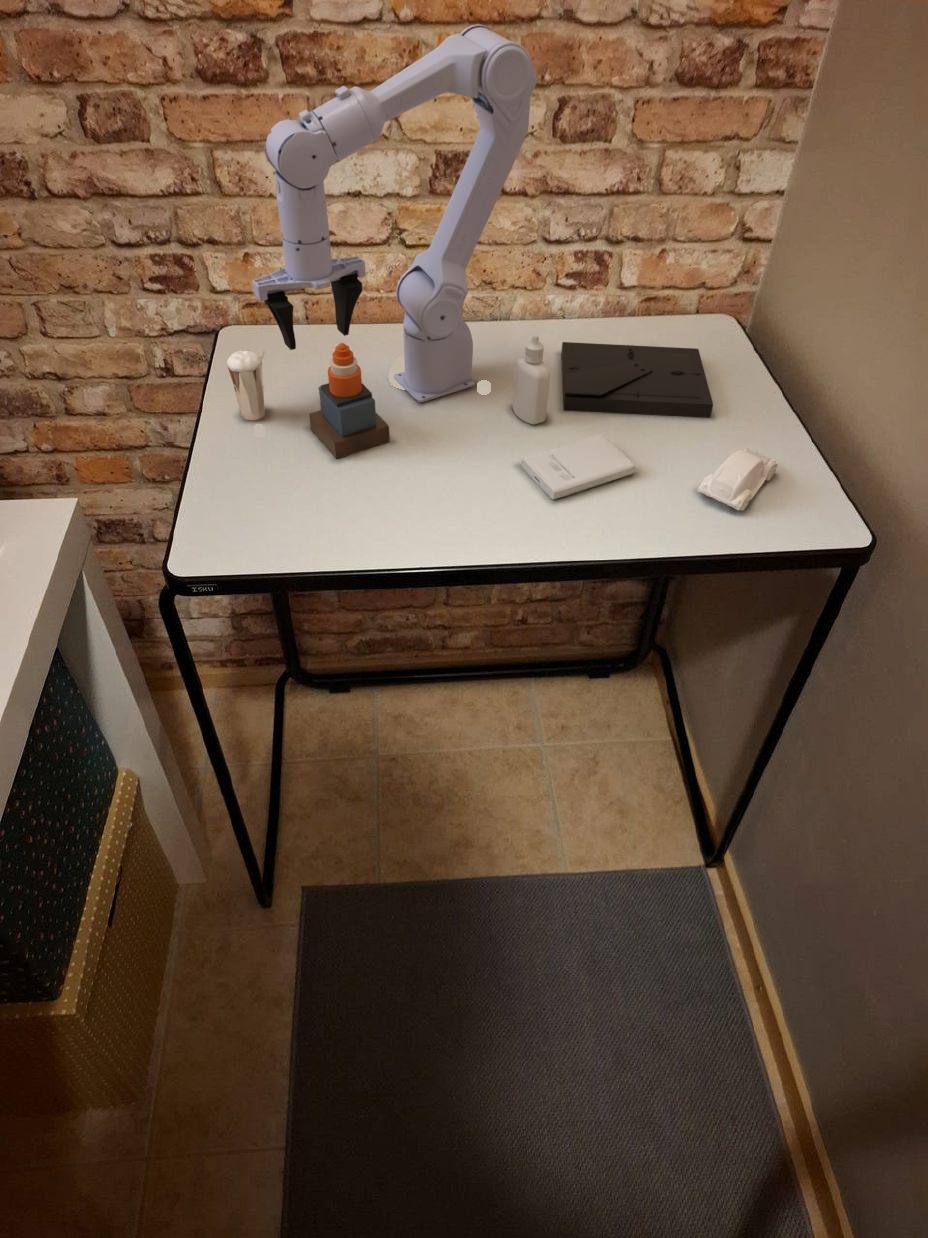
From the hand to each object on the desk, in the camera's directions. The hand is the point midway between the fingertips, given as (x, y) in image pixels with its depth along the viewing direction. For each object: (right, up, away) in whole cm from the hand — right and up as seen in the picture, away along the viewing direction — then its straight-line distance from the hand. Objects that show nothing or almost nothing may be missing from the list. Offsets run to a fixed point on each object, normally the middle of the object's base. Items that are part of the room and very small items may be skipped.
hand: (317, 338), depth 113 cm
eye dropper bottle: (+29, -8, +7) cm, 31 cm away
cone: (+4, -8, -2) cm, 9 cm away
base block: (+4, -12, +3) cm, 13 cm away
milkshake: (-9, -9, +6) cm, 14 cm away
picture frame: (+44, -2, +14) cm, 47 cm away
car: (+55, -20, -3) cm, 58 cm away
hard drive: (+34, -18, -2) cm, 39 cm away
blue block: (+4, -10, +1) cm, 11 cm away
